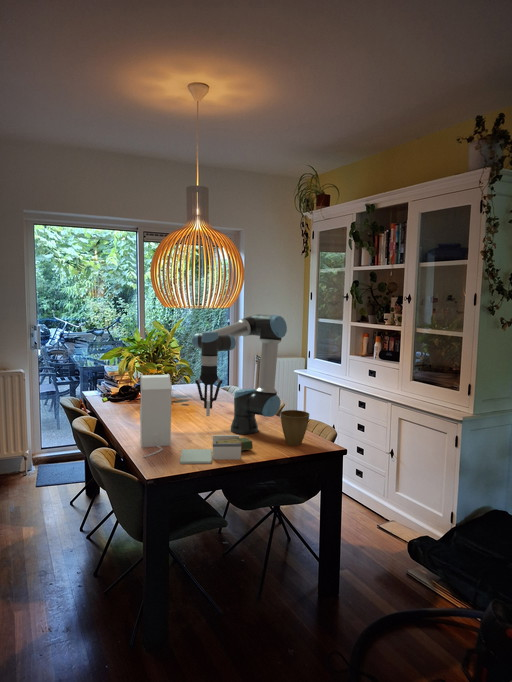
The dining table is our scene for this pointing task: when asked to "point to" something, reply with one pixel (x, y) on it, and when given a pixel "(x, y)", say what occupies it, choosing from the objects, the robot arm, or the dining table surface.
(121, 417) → the dining table surface
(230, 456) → the rack
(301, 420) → the plant pot
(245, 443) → the carton
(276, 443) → the dining table surface
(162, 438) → the tall slanted-top box
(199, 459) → the plate
